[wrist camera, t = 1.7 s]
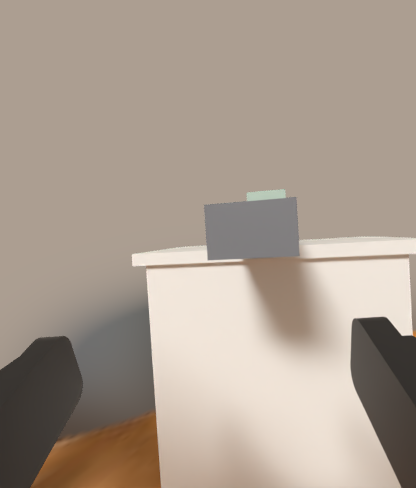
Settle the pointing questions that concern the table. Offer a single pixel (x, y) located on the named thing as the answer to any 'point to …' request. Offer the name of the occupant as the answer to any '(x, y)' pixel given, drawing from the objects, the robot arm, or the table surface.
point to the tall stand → (270, 363)
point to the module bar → (253, 227)
